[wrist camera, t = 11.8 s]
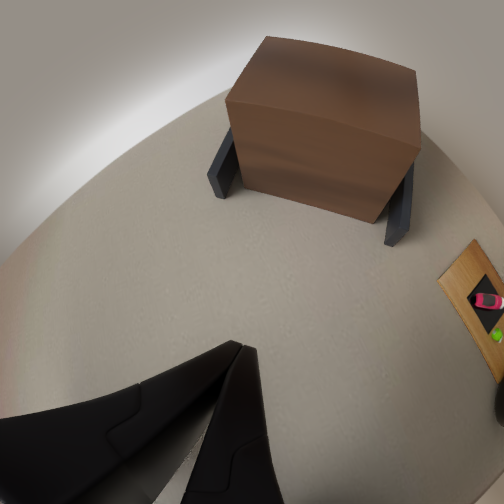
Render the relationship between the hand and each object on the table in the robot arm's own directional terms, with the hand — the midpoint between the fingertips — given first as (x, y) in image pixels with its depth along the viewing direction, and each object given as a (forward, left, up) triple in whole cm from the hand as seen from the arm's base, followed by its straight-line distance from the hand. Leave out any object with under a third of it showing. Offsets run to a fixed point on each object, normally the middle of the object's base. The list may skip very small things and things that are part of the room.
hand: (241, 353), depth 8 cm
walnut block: (+13, +9, -12) cm, 20 cm away
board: (+17, -11, -12) cm, 24 cm away
